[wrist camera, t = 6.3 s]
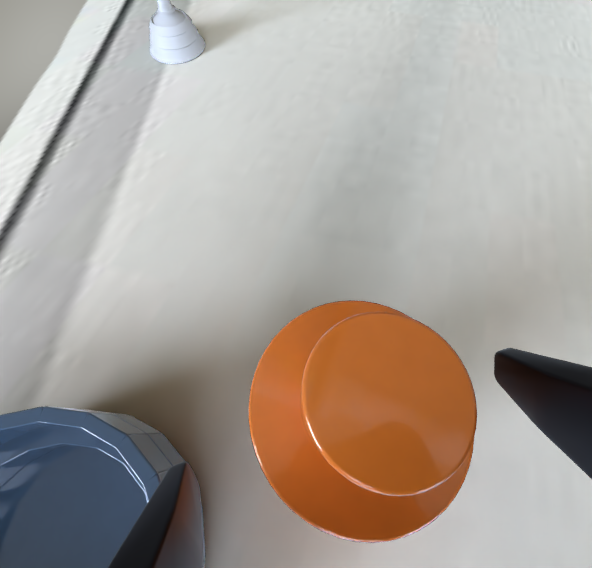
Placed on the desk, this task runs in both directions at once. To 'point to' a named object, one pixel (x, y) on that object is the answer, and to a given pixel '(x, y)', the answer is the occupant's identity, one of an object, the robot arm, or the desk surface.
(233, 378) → the desk surface
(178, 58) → the chalice
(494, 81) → the desk surface
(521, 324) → the desk surface
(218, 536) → the desk surface
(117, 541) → the bowl
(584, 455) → the robot arm
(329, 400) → the orange bottle
